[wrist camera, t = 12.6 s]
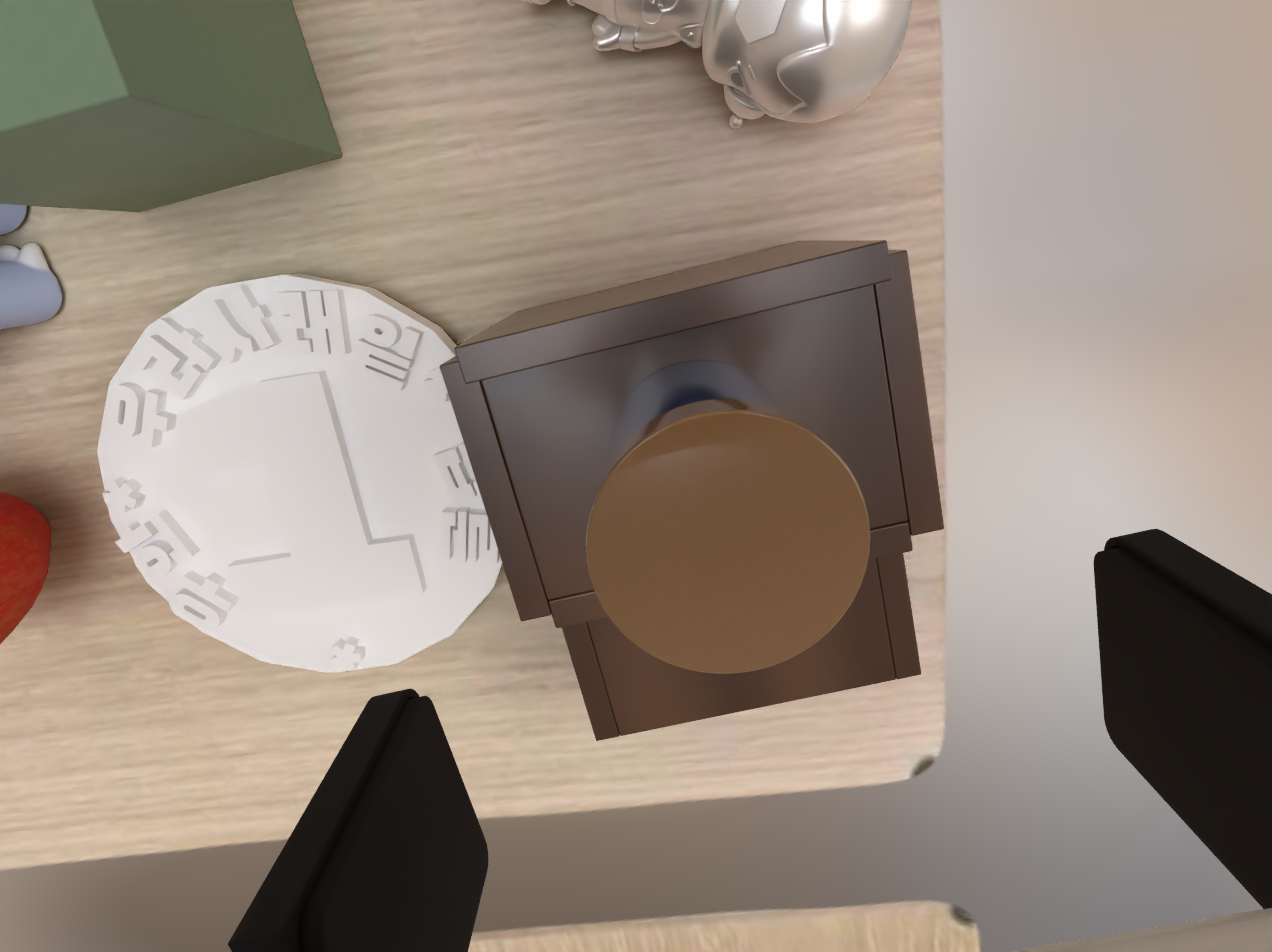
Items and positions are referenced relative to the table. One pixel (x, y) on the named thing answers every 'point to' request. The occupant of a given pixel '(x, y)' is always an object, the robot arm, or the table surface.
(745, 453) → the jar
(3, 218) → the hippopotamus toy
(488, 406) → the wooden storage crate
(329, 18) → the table surface
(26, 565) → the apple
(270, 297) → the white round plaque
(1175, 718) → the robot arm
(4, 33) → the stand
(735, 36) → the figurine
